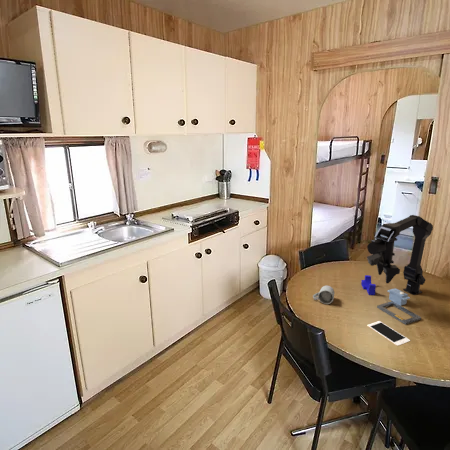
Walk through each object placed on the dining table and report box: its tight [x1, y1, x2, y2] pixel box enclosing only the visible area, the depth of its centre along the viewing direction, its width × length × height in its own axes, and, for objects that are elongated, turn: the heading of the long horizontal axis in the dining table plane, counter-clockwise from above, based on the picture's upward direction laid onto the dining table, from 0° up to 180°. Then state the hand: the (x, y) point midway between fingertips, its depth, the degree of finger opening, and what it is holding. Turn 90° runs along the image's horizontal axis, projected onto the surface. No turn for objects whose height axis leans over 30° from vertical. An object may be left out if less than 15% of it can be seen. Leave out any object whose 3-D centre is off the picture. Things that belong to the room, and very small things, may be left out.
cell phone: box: [366, 320, 411, 346], centre depth 140 cm, size 8×16×1 cm, turn 24°
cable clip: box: [360, 274, 377, 296], centre depth 176 cm, size 12×4×6 cm, turn 169°
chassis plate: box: [376, 300, 422, 326], centre depth 154 cm, size 10×16×1 cm, turn 23°
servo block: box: [387, 288, 411, 306], centre depth 163 cm, size 4×10×6 cm, turn 23°
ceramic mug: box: [312, 285, 335, 305], centre depth 167 cm, size 11×8×8 cm
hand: (383, 278), depth 160 cm, fingers open, 9 cm apart
